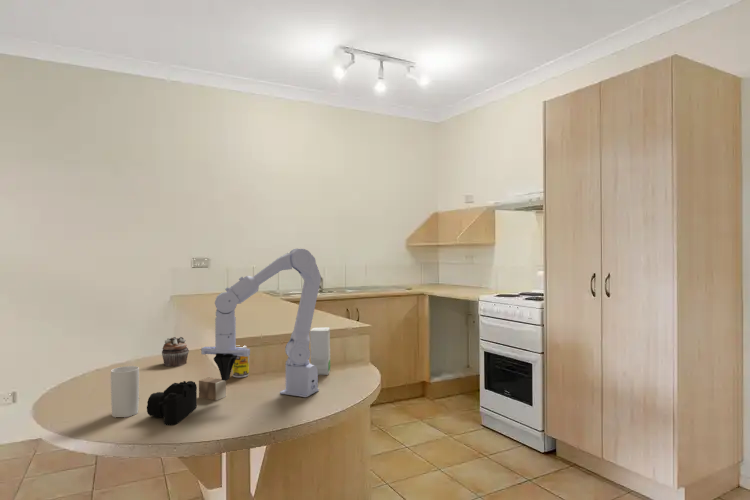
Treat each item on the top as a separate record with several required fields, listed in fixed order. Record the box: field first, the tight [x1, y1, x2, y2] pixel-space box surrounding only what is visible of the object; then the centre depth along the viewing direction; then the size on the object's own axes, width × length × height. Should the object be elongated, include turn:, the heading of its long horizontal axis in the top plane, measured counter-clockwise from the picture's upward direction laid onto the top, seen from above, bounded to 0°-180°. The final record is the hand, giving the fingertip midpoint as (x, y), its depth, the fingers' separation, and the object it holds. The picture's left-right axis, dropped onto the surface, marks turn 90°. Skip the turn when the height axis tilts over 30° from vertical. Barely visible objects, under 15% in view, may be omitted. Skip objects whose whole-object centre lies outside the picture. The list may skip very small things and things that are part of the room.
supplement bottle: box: [231, 345, 250, 379], centre depth 164 cm, size 6×6×10 cm
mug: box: [110, 365, 140, 418], centre depth 128 cm, size 10×7×12 cm, turn 11°
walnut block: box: [198, 377, 227, 401], centre depth 141 cm, size 5×4×7 cm
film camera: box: [146, 380, 198, 426], centre depth 125 cm, size 15×10×9 cm, turn 177°
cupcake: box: [161, 336, 190, 367], centre depth 181 cm, size 10×10×10 cm
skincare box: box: [309, 326, 331, 376], centre depth 169 cm, size 8×7×16 cm
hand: (225, 379), depth 139 cm, fingers closed
